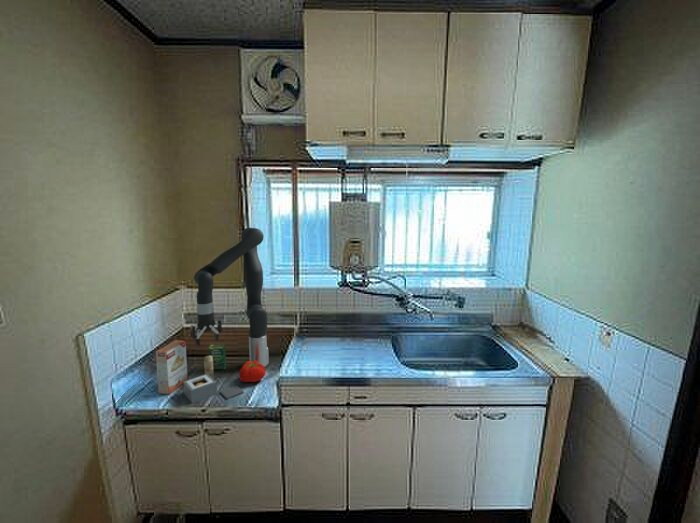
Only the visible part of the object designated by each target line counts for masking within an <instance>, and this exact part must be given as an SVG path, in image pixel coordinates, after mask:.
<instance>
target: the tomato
mask: <svg viewBox="0 0 700 523" xmlns="http://www.w3.org/2000/svg"><path fill="white" fill-rule="evenodd" d="M241 366H242V367H241V368H240V370H239V372H238V377H239V379H240V381H241V382H243V383H250V382H251V383H255V382H259V381H260V380H263V379H264V378H265V376H266V368H265V367H264V366H263V365H262V364H261V363H259V362H258V361H252V362H251V361H250V360H248V361H246V362H245V363H244V364H243V365H241Z"/></svg>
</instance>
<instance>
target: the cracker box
mask: <svg viewBox="0 0 700 523" xmlns="http://www.w3.org/2000/svg"><path fill="white" fill-rule="evenodd" d="M186 343H187V342H186V341H185V340H178V339H177V340H176V339H175V340H173V341H171V342H169V344H166V345H164V346H163V347H161V348H159V349H157V350H155V362H156V375H157V388H158V389H157V390H158V394H162V395H171V394H172V393H173V392H174V391H175V390H177V389H178V388H179V387H181V386H182V385H183V381H186V380H189V379H188V363H187V361H188V360H187V346H186Z"/></svg>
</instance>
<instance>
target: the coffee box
mask: <svg viewBox="0 0 700 523" xmlns="http://www.w3.org/2000/svg"><path fill="white" fill-rule="evenodd" d="M225 346H226V344H210V345H209V346H208V354H209V355H208V356H213V370H226V368H227V358H226V357H227V356H226V347H225Z"/></svg>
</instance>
